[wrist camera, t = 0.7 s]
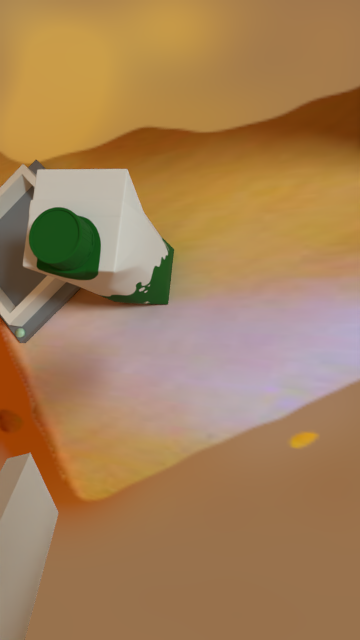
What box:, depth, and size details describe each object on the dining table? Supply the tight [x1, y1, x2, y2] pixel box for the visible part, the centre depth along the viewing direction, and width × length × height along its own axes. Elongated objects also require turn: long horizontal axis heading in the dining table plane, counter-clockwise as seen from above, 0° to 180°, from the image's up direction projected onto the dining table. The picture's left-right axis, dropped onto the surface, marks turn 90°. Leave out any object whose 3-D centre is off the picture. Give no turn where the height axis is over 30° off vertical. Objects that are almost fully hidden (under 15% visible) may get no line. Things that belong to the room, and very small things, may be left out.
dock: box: [0, 160, 81, 343], centre depth 44 cm, size 18×18×4 cm
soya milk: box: [23, 169, 174, 304], centre depth 32 cm, size 9×9×20 cm
